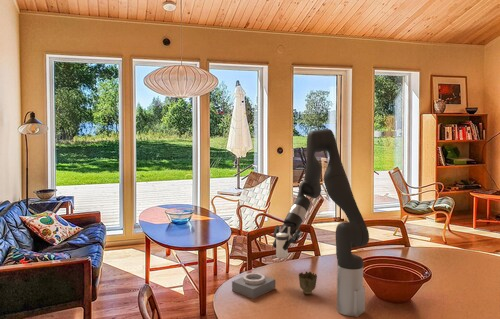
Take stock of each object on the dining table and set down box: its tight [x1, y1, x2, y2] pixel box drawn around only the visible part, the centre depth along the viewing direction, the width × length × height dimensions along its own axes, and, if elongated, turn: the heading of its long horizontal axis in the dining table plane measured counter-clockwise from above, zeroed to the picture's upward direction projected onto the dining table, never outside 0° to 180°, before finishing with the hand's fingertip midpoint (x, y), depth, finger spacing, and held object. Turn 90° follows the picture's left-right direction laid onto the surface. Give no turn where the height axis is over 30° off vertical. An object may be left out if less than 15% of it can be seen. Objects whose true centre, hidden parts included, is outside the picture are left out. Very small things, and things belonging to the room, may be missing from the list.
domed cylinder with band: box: [275, 233, 289, 259], centre depth 167 cm, size 5×5×10 cm
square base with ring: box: [231, 272, 276, 300], centre depth 159 cm, size 12×14×6 cm
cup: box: [298, 271, 318, 296], centre depth 155 cm, size 8×7×8 cm
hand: (279, 248), depth 166 cm, fingers closed on domed cylinder with band, 5 cm apart
